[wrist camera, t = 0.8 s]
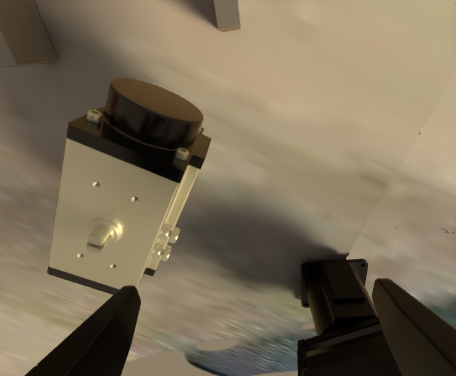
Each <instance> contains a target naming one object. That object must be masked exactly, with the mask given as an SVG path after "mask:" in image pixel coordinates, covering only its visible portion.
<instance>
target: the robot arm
mask: <svg viewBox="0 0 456 376" xmlns="http://www.w3.org/2000/svg"><path fill="white" fill-rule="evenodd" d="M367 268H368V263H367V261H366V260H365V259H353V260H339V261H325V262H311V263H303V264H302V265H301V267H300V269H301V304H302V306H303V307H305V308H309V307H310V309H311V313H312V317H313V321H314V324H315V328H316V332H317V336H314V337H311V338H308V339H305V340H304V339H301V340H298V350H297V356H298V376H456V329H455V328H454V327H452V326H451V325H450V324H448V323H447V322H446V321H444V320H443V319H442V318H440V317H439V316H438V315H436V314H435V313H434V312H432V311H431V310H430V309H429V308H427V307H426V306H425V305H423V304H422V303H421V302H419V301H418V300H417V299H415V298H414V297H413V296H411V295H410V294H409V293H407V292H406V291H405V290H403V289H402V288H401V287H400V286H398V285H397V284H396V283H394V282H393V281H392V280H390V279H388V278H378V279H376V280H375V283H374V287H373V292H372V299H373V302H372V300H371V298H370V296H369V294H368V292H367V290H366V288H365V282H366V275H367ZM373 303H374V304H373ZM140 305H141V299H140V296H139V294H138V291H137V289H136V287H135V286H134V285H126V286H123V287H122V288H121V289H120V290H119V291H118V292H116V293H115V294H114V295H113V296H112V297H111V298H110V299H109V300H108V301H106V302H105V303H104V304H103V305H102V306H101V307H100V308H99V309H98V310H97V311H95V312H94V313H93V314H92V315H91V316H90V317H89V318H88V319H87V320H85V321H84V322H83V323H82V324H81V325H80V326H79V327H78V328H77V329H76V330H74V331H73V332H72V333H71V334H70V335H69V336H68V337H67V338H66V339H65V340H63V341H62V342H61V343H60V344H59V345H58V346H57V347H56V348H55V349H53V350H52V351H51V352H50V353H49V354H48V355H47V356H46V357H45V358H44V359H42V360H41V361H40V362H39V363H38V364H37V366H35V367H33V368H32V369H31V370H30V371H29V372H28V373H27V374H26V375H25V376H121V373H122V370H123V367H124V364H125V362H126V359H127V356H128V353H129V350H130V347H131V343H132V339H133V335H134V331H135V327H136V322H137V318H138V314H139V310H140Z"/></svg>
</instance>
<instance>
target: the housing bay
mask: <svg viewBox="0 0 456 376" xmlns="http://www.w3.org/2000/svg"><path fill="white" fill-rule="evenodd" d="M214 5H215V12H216V19H217V27H218V29H219V30H220V31H222V32H226V31H232V30H238V29H240V19H239V10H238V1H237V0H214ZM55 61H59V60H58V57H57V55H56V52H55V50H54V48H53V45H52V43H51V40H50V38H49V36H48V33H47V31H46V28H45V26H44V23H43V21H42V19H41V16H40V14H39V11H38V9H37V7H36V4H35V2H34V0H0V68H1V67H12V66H22V65H33V64H44V63H50V62H55Z"/></svg>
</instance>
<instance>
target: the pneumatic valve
mask: <svg viewBox="0 0 456 376" xmlns="http://www.w3.org/2000/svg"><path fill="white" fill-rule="evenodd" d="M203 119H204V118H203V114H202V113H201V111H200V110H199V109H198V108H197V107H196V106H194V105H193V104H192V103H190V102H189V101H187V100H186V99H184V98H182V97H180V96H179V95H177V94H175V93H173V92H170V91H168V90H166V89H164V88H161V87H158V86H156V85H153V84H150V83H146V82H143V81H139V80H134V79H127V78H119V79H115V80H113V81H112V82H111V83H110V87H109V92H108V97H107V102H106V106H105V107H103V108H100V109H98V110H88V112H87V115H85V116H83V117H80V118H78V119H76V120H74V121H71V122H69V123H68V130H67V137H66V144H65V151H64V158H63V165H62V172H61V179H60V186H59V193H58V200H57V208H56V215H55V222H54V229H53V236H52V243H51V250H50V257H49V264H48V271H47V273H48V274H50V275H53V276H56V277H59V278H62V279H66V280H69V281H72V282H75V283H78V284H81V285H84V286H87V287H91V288H94V289H97V290H100V291H103V292H106V293H109V294H113V295H114V294H115V293H116V292H118V291H119V290H120V289H121V288H122V287H123V286H126V285H134V286H135V287H136V289H137V288H138V286H139V283H140V281H141V279H142V276H143V274H147V275H150V276H153V275H154V273H155V271H156V269H157V266H158V264H159V262H160V260H161V261H164V262H166V261H167V259H168V257H169V255H170V252H171V249H172V247H171V246H168V245H167V244H168V241H169V242H170V243H175V242H176V240H177V237H178V235H179V232H180V228H177V227H175V226H176V223H177V221H178V219H179V217H180V214H181V212H182V210H183V207H184V205H185V203H186V201H187V198H188V196H189V194H190V192H191V189H192V187H193V185H194V183H195V180H196V178H197V176H198V173H199V171H200V169H201V167H202V164H203V162H204V160H205V157H206V154H207V151H208V148H209V145H210V142H211V138H209V137H207V136H205V135H203V134H202V133H203V130H204V129H203V128H201V124H202V122H203Z"/></svg>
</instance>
